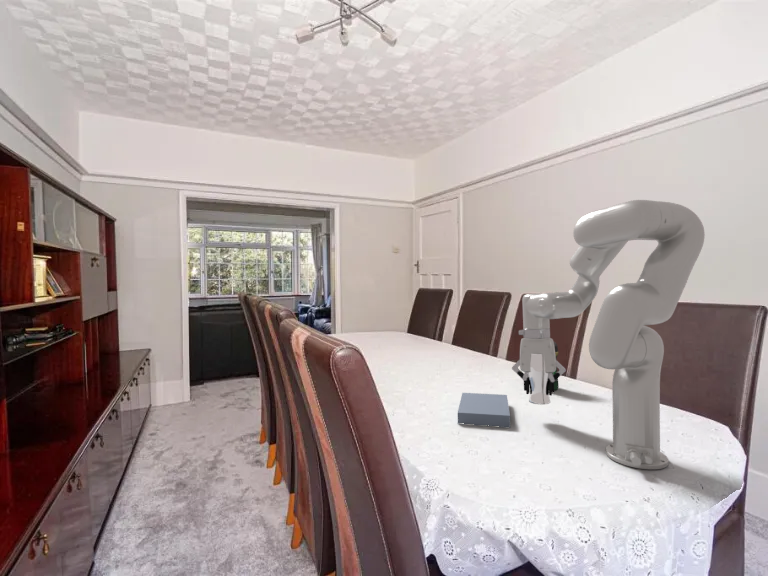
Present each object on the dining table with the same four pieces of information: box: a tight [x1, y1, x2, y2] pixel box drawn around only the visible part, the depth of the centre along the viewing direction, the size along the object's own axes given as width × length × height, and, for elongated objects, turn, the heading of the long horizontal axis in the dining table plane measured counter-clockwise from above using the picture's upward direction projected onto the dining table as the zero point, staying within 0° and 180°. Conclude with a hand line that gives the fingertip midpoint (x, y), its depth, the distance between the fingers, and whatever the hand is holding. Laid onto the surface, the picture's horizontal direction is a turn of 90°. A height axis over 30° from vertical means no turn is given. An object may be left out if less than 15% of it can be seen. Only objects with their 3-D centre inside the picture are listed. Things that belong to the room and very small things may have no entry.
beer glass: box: [527, 354, 551, 405], centre depth 123 cm, size 7×7×15 cm
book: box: [457, 392, 511, 429], centre depth 130 cm, size 22×15×4 cm
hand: (539, 393), depth 123 cm, fingers closed on beer glass, 5 cm apart
